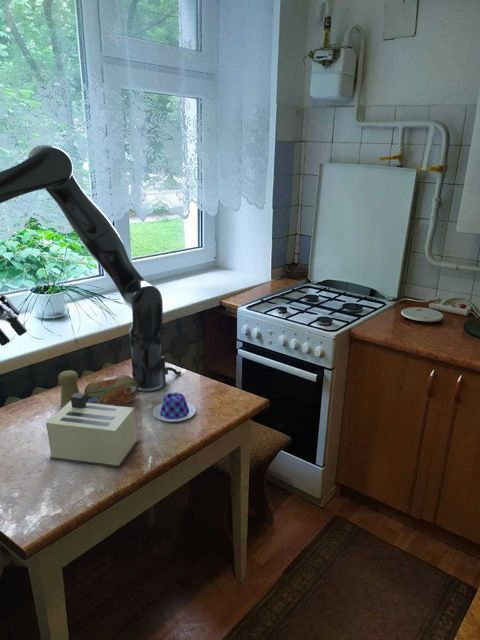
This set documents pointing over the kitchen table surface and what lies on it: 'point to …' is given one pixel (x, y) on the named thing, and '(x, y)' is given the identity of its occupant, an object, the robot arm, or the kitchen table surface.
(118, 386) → the tin
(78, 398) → the slider button
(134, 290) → the robot arm
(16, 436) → the kitchen table surface
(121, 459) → the toaster
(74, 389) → the pepper mill
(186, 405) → the pudding
